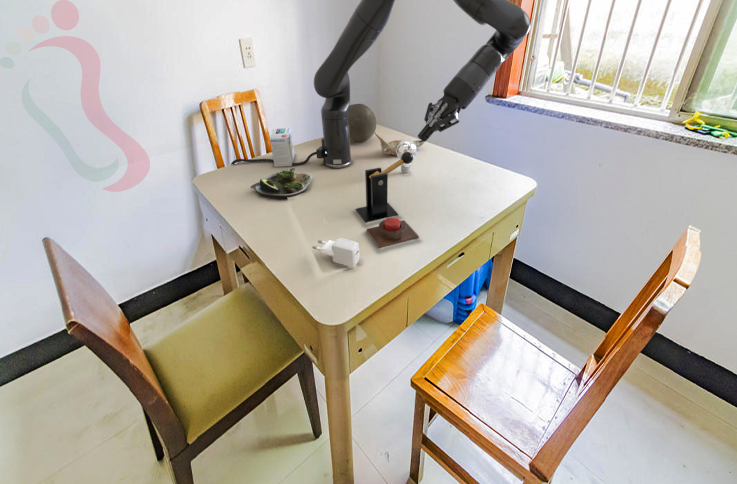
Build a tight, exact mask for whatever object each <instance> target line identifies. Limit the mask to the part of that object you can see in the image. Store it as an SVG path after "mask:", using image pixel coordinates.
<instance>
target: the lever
mask: <svg viewBox="0 0 737 484" xmlns="http://www.w3.org/2000/svg"><path fill="white" fill-rule="evenodd" d="M413 161H414V159H413V155H412V154H411V153H410V152H405V153H403V154H402V156H401V159H400V160H399V159H398V160H397V161H396V162H394V163H393V164H391V165H390V166H388V167H387V168H385V169H384V170H381V171H382V172H381V173H379V172H378V171H376V172H375V173H373V174H372V175H370V176H369V178H370V180H371V176H374V175H379V174H384V173H387V174H388V175H389V174H390V173H391V172H393V171H395V170H396V169H398V168H399V167H401V165H402V164H404V163H405V164H410V163H411V162H412V163H413Z"/></svg>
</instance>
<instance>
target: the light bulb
mask: <svg viewBox="0 0 737 484" xmlns="http://www.w3.org/2000/svg"><path fill="white" fill-rule="evenodd" d="M402 140H403V141H402ZM402 140H401V142H400V143H399V144H398V145H397V148H396V154H397V156H396V157H397V158H398V161H399V160H400V159H401V156H402V154H403V153H405V152H410V153H411V154H412V155H413V160H415V158H416V156H417V154H418V148H417V147H416V144H415V143H414V142H413V141H414V140H411V139H402ZM412 164H413V161H412V162H411V163H410V164H405V163H404V164H402V165H401V166H400V172H401V173H402V174H408V173H410V172H411V171H412V169H411V167H412Z"/></svg>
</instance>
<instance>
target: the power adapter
mask: <svg viewBox="0 0 737 484" xmlns="http://www.w3.org/2000/svg"><path fill="white" fill-rule="evenodd" d="M317 244H321V245H323V246H322V247H321V246H320V247H319V246H317V245H312V247H311V248H312V249H313V250H318V251H320V253H321V254H322V255H326V256H328V257H331V258H332V262H333V263H336V264H340V265H343V266H345V268H348V269H350V270H351V269H355V268H356V266H357V265H358V263H359V262H360V259H361V254H360V253H361V252H360V243H359V242H358V241H355V240H351V239H347V238H343V237H338V238H337V239H336V240H332V239H328V240H327V241H324V240H320V239H318V240H317Z"/></svg>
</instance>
